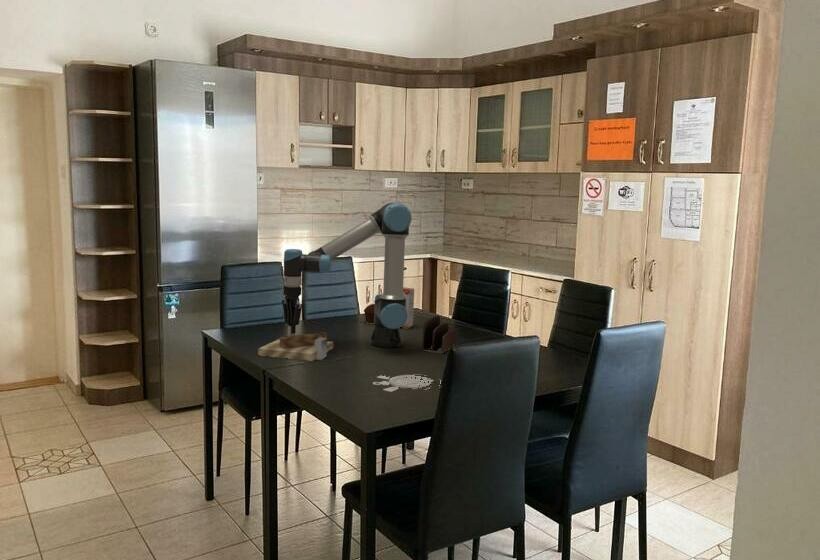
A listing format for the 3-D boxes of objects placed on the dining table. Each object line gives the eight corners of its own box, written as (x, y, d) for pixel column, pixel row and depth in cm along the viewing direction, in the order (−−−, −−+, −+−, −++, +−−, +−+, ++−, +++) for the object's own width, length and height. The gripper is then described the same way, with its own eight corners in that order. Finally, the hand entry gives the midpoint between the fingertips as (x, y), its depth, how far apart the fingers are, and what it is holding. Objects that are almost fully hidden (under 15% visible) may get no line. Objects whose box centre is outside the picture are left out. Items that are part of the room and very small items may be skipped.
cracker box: (384, 326, 347) (385, 286, 345) (389, 324, 353) (391, 285, 350) (407, 329, 341) (409, 289, 338) (413, 327, 346) (414, 287, 344)
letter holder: (421, 351, 295) (422, 320, 293) (437, 343, 313) (438, 313, 311) (442, 354, 291) (444, 322, 290) (457, 345, 309) (458, 315, 308)
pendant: (454, 392, 238) (454, 388, 238) (376, 393, 233) (376, 390, 233) (440, 375, 259) (440, 372, 259) (368, 377, 254) (368, 373, 253)
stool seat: (333, 348, 294) (333, 341, 294) (312, 361, 271) (312, 354, 271) (283, 343, 300) (283, 337, 300) (258, 355, 277) (258, 348, 277)
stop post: (326, 356, 279) (327, 338, 278) (321, 360, 274) (321, 341, 273) (319, 356, 280) (320, 337, 279) (314, 359, 274) (314, 340, 273)
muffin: (381, 325, 348) (382, 307, 347) (361, 324, 351) (361, 305, 349) (386, 321, 360) (387, 303, 359) (366, 320, 362) (367, 302, 361)
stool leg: (323, 341, 294) (323, 330, 294) (328, 343, 291) (328, 332, 290) (279, 346, 281) (279, 335, 281) (284, 348, 278) (284, 337, 277)
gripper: (276, 284, 284) (275, 338, 287) (293, 288, 275) (292, 344, 278) (291, 283, 289) (290, 336, 292) (308, 287, 280) (307, 342, 283)
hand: (291, 340), depth 285 cm, fingers closed
